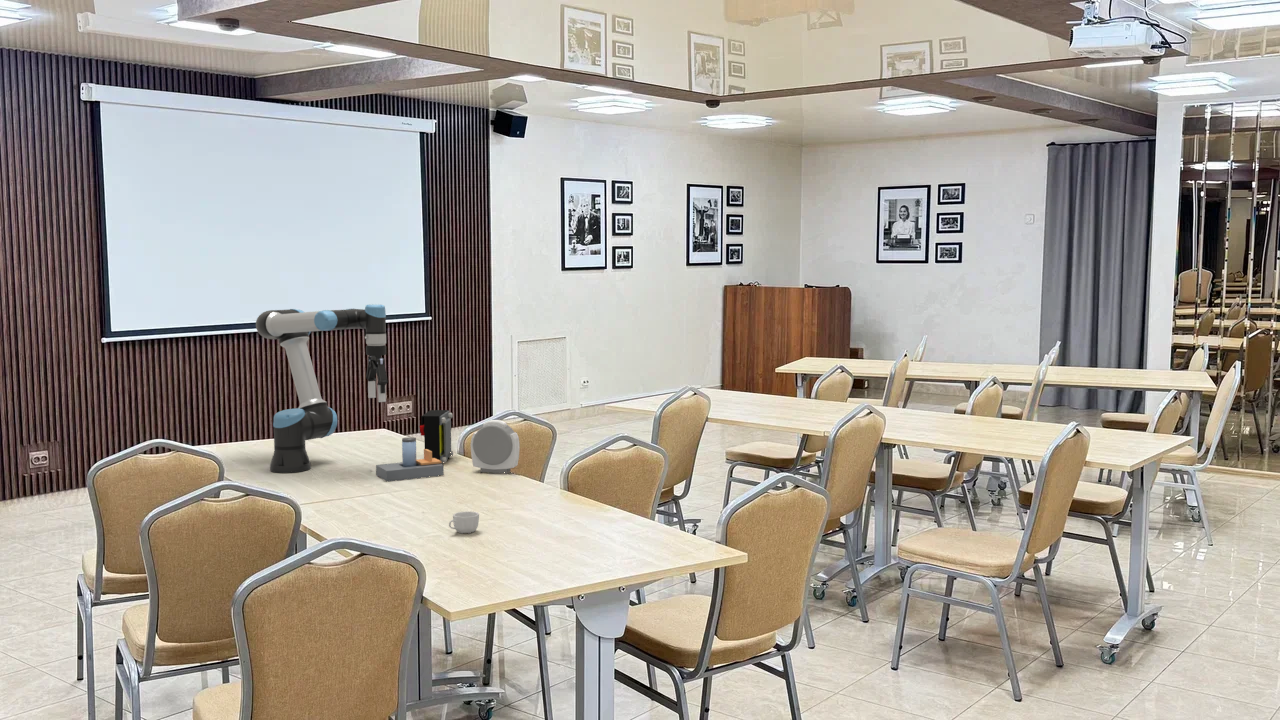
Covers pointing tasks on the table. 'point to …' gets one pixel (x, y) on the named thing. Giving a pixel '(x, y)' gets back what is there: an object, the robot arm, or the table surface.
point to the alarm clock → (495, 447)
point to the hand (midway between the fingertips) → (377, 399)
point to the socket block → (407, 471)
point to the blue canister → (409, 452)
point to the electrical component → (437, 433)
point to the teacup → (465, 521)
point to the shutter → (428, 458)
